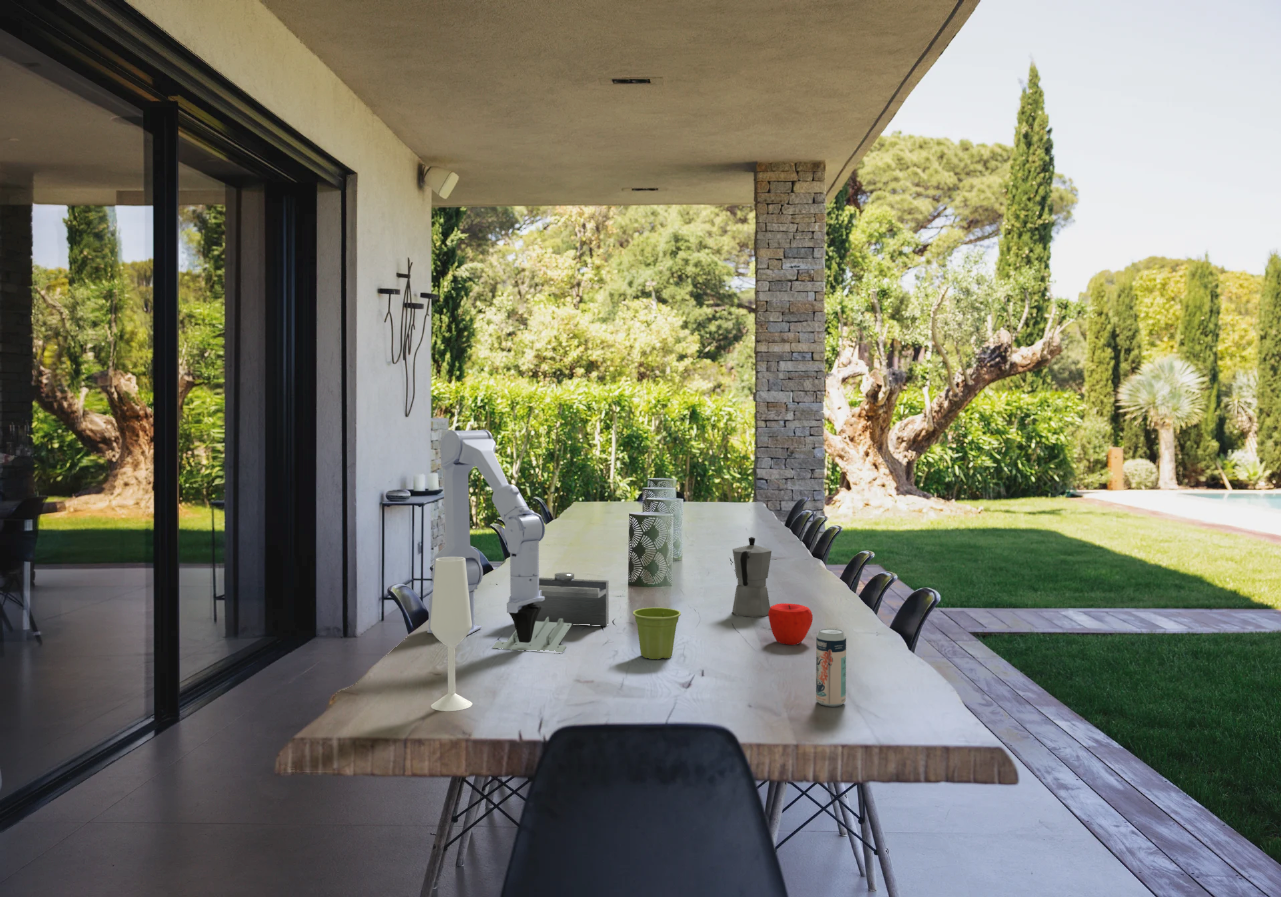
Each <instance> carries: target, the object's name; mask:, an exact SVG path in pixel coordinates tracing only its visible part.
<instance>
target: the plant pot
mask: <svg viewBox="0 0 1281 897" xmlns="http://www.w3.org/2000/svg"><path fill="white" fill-rule="evenodd" d="M632 614H633V616H634V618H635V622H636V626H637V633H638V634H637V635H638V641H639V642H638V643H639V651H640V656H641V657H643V658H645V659H647V658H649V659H648V660H654V659H657V660H661V659H663V658H664V659H666V658H667V659H670V658H672V657H673V652H674V645H675V644H674V643H675V636H676V630H677V626H678V625H677V624H678V623H679V617H680V616H681V615H682V612H681V611H680V610H679V609H673V608H668V607H644V608H638V609H635V610H633V611H632Z"/></svg>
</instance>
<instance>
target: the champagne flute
mask: <svg viewBox="0 0 1281 897" xmlns="http://www.w3.org/2000/svg"><path fill="white" fill-rule="evenodd" d="M432 588H433V590H432V592H433V599H432V611H431V622H430V629H431V631H432V633H431V634H433V636H434V637H435V638H436V639H437V640H439V642H441V644H443V645H444V646H446V647H447V694H445V695H443V696H442V697H441V698H439V699H438V700H436V701H435V702H434V703H432V704H431V705H430V707H431V709H432V710H436V711H441V712H455V711H462V710H465V709H466V710H467V709H469V708H471V707H472V706H473V702H471V701H470V700H468V699H466V698H464V696H461V695H459V694H457V693H456V646H457V645H460V644H461V642H462V641H463V640H464V639H465V638H466V637H467V636H468V633H469V632H470V630H471V627H472V620H471V611H470V601H469V591H468V581H467V571H466V561H465V558H463V557H442V558H437V559H436V563H435V575H434V583H433V587H432Z"/></svg>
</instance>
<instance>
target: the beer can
mask: <svg viewBox="0 0 1281 897" xmlns="http://www.w3.org/2000/svg"><path fill="white" fill-rule="evenodd" d="M815 642H816V643H815V644H816V646H815V647H816V648H815V649H816V650H815V651H816V652H815V654H816V655H815V656H816V657H815V660H816V661H815V685H816V686H815V701H816V702H817V703H819V704H820V705H821V706H824V707H830V708H831V707H833V708H834V707H835V708H836V707H840V706H842V705H843V704H845V703H846V700H847V699H846V695H847V692H846V691H847V689H846V688H847V636H846V634H845V632H844V631H843V629H838V628H821V629H819V630H818V633H817V634H816V640H815Z"/></svg>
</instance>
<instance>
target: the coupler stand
mask: <svg viewBox="0 0 1281 897" xmlns="http://www.w3.org/2000/svg"><path fill="white" fill-rule="evenodd" d="M609 583H610V582H609V580H603V579H602V580H601V579H580V578H579V579H578V578H575V573H574V572H557V573H554V577H539V590H542V596H544V597H545V600H543V601H538V602H534V603H533V605H541V610H540V612H539V614H538V616H537V619H536V621H539V622H544V621H545V620H546V618H547V617H549V622H558V620H559V618H560V619H561V618H563V623H571V624H590V625H601V626H607V624H609V623H610V622H609V618H610V616H609V614H610V613H609V611H610V610H609V609H610V608H609V600H610V598H609V597H610V596H609V595H610V594H609V592H610V590H609ZM607 627H608V626H607Z"/></svg>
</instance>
